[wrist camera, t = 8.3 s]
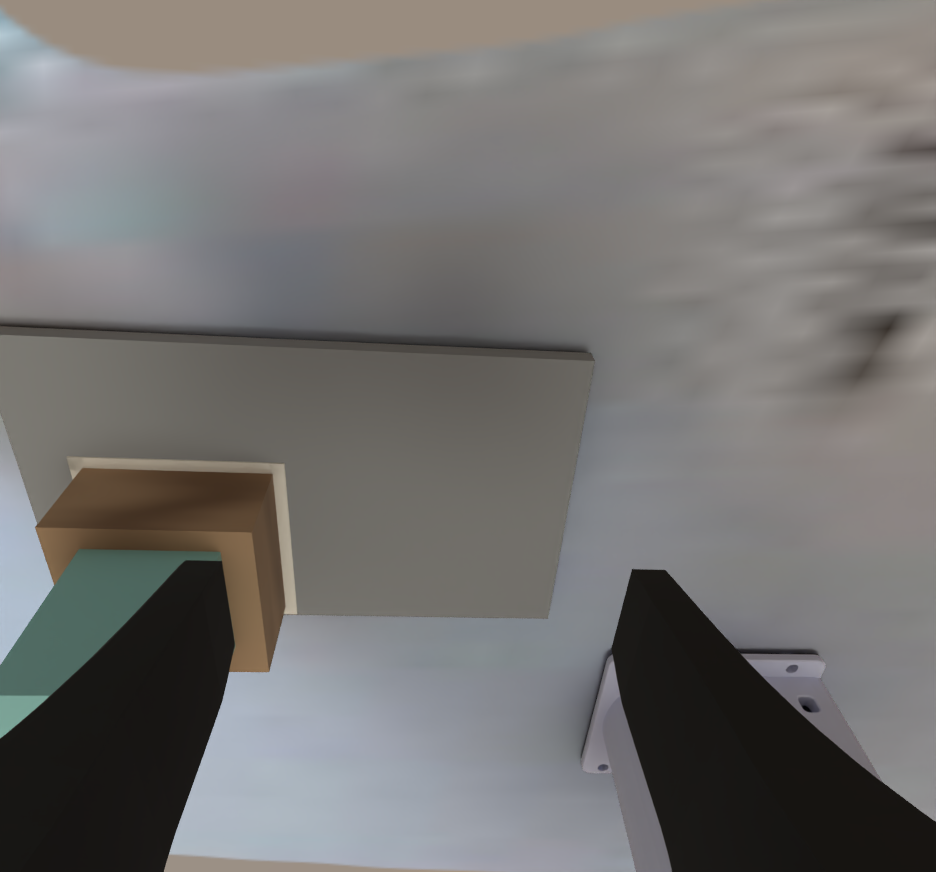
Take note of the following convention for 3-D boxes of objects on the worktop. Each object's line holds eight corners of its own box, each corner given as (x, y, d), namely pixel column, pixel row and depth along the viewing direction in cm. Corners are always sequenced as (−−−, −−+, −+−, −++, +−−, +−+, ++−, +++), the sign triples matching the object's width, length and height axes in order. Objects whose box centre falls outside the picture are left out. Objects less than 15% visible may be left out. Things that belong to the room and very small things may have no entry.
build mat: (590, 352, 21) (595, 362, 20) (545, 607, 27) (548, 619, 26) (-14, 325, 20) (-27, 334, 19) (73, 599, 25) (65, 612, 25)
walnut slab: (272, 473, 22) (251, 532, 19) (285, 606, 25) (269, 672, 23) (82, 468, 22) (35, 527, 19) (119, 603, 25) (83, 670, 22)
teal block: (220, 551, 20) (162, 696, 15) (235, 645, 22) (187, 796, 18) (79, 549, 19) (-21, 695, 15) (107, 644, 22) (28, 797, 17)
